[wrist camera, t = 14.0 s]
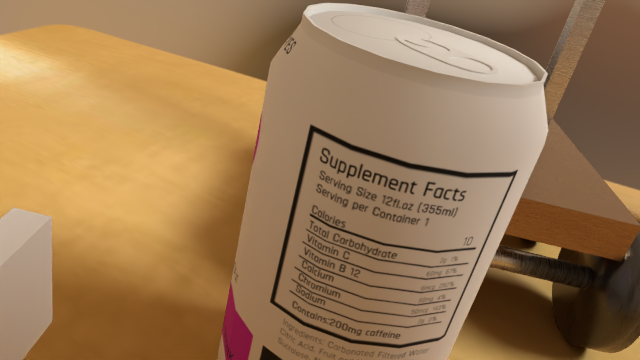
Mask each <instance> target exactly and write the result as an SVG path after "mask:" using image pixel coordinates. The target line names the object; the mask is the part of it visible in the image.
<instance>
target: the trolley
mask: <svg viewBox="0 0 640 360" xmlns="http://www.w3.org/2000/svg"><path fill="white" fill-rule="evenodd" d="M429 2H430V0H408V1H407V4H406V8H405V11H404V13H405V14H410V15H414V16H419V17H422V18H425V15H426V12H427V9H428V5H429ZM604 2H605V0H576V1H575V3H574V5H573V8H572V10H571V13H570V15H569V17H568V20H567V22H566V24H565V27H564V29H563V31H562V34H561V36H560V38H559V41H558V43H557V45H556V48H555V50H554V53H553V55H552V57H551V60H550V62H549V64H548V67H547V69H546V72H547V73H548V75H547V77H546V80H545V82H544V84H543V85H544V95H545V104H546V114H547V124H548V133H547V137H546V141H545V144H544V147H543V149H542V151H541V153H540V156H539V158H538V160H537V162H536V164H535V167H534V169H533V171H532V173H531V175H530V178H529V180H528V182H527V184H526V186H525V189H524V191H523V193H522V195H521V197H520V200H519V202H518V204H517V206H516V209H515V211H514V213H513V215H512V217H511V220H510V222H509V224H508V226H507V228H506V231H505V233H504V234H507V235H511V236H516V237H520V238H524V239H528V240H532V241H537V242H541V243H545V244H549V245H554V246H558V247H562V248H561V251H560V253H559V256H558V259H555V258H550V257H546V256H542V255H538V254H533V253H529V252H525V251H521V250H516V249H512V248H508V247H504V246H498V248H497V250H496V253H495V255H494V257H493V259H492V262H491V264H490V266H489V267H492V268H496V269H500V270H505V271H509V272H513V273H517V274H522V275H526V276H530V277H534V278H539V279H543V280H547V281H551V282H553V285H552V303H553V311H554V316H555V320H556V323H557V326H558V328H559V330H560V332H561V334H562V335H563V336H564V338H565V339H566V340H567V341H568V342H570V343H571V344H574V345H576V346H580V347H585V348H589V349H593V350H597V351H602V352H607V353H615V352H619V351H622V350H623V349H625V348H627V347H628V346H630V345H631V344H632V343H633V342H634V341H635V340H636V339H637V338H638V337H639V336H640V223H639V222H638V221H637V220H636V218H635V217H634V216H633V215H632V214H631V212H630V211H629V210H628V209H627V208H626V206H625V205H624V204H623V203H622V202H621V200H620V199H619V198H618V197H617V196H616V194H615V193H614V192H613V191H612V190H611V188H610V187H609V186H608V185H607V184H606V182H605V181H604V180H603V179H602V178H601V176H600V175H599V174H598V173H597V172H596V171H595V169H594V168H593V167H592V166H591V165H590V163H589V162H588V161H587V160H586V158H585V157H584V156H583V155H582V154H581V151H580V150H579V148H578V147H577V146H575V145H574V144H573V143H572V142H571V140H570V139H569V138H568V137H567V136H566V134H565V133H564V132H563V131H562V130H561V128H560V127H559V126H558V125H557V124H556V122H555V121H554V120H553V119H552V117H553V115H554V113H555V111H556V109H557V106H558V104H559V102H560V100H561V97H562V95H563V93H564V91H565V89H566V86H567V84H568V82H569V80H570V77H571V75H572V73H573V71H574V68H575V66H576V64H577V62H578V59H579V57H580V55H581V53H582V51H583V49H584V46H585V44H586V42H587V40H588V38H589V35H590V33H591V31H592V29H593V26H594V24H595V22H596V19H597V18H598V15H599V13H600V11H601V9H602V6H603V4H604Z"/></svg>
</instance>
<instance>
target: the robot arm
mask: <svg viewBox="0 0 640 360" xmlns="http://www.w3.org/2000/svg"><path fill="white" fill-rule="evenodd" d="M52 321H53V311H52V217H51V216H47V215H42V214H38V213H34V212H30V211H26V210H22V209H17V208H12V209H11V210H10V211H9V212H8V213H6V214H5V215H4V216H3V217H2V218H0V360H23V359H24V357H25V356H26V355H27V353H28V352H29V351H30V350H31V348H32V347H33V346H34V344H35V343H36V342H37V341H38V339H39V338H40V337H41V335H42V334H43V333H44V332H45V330H46V329H47V328H48V326H49V325H50V324H51V322H52Z"/></svg>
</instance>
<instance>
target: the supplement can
mask: <svg viewBox="0 0 640 360" xmlns="http://www.w3.org/2000/svg"><path fill="white" fill-rule="evenodd" d="M547 75H548V73H547V72H546V71H545V70H544V69H543V68H542V67H541V66H540V65H539V64H538V63H537V62H536V61H534V60H532V59H530V58H529V57H527V56H525V55H523V54H521V53H520V52H518V51H516V50H514V49H512V48H510V47H507V46H505V45H503V44H500V43H498V42H496V41H493V40H491V39H488V38H486V37H483V36H480V35H478V34H475V33H472V32H469V31H466V30H463V29H460V28H457V27H454V26H451V25H447V24H444V23H440V22H437V21H432V20H429V19H425V18H422V17H419V16H414V15H410V14H405V13H400V12H396V11H391V10H387V9H382V8H375V7H368V6H361V5H354V4H339V3H323V4H317V5H310V6H308V7H307V9H306V10H305V11H304V13H303V17H302V22H301V24H300V25H299V26H298V28H297V29H296V30H295V31H294V32H293V34H292V35H291V36H290V38H289V39H288V40H287V41H286V42H285V44H284V45H283V46H282V47H281V49H280V50H279V51H278V53H277V54H276V56H275V57H274V59H273V60H272V61H271V64H270V69H269V75H268V80H267V86H266V91H265V97H264V103H263V108H262V114H261V119H260V125H259V130H258V136H257V141H256V147H255V152H254V158H253V163H252V169H251V174H250V180H249V185H248V191H247V196H246V202H245V207H244V213H243V218H242V224H241V229H240V235H239V241H238V246H237V252H236V257H235V263H234V268H233V274H232V279H231V285H230V290H229V296H228V301H227V307H226V312H225V318H224V323H223V329H222V334H221V340H220V345H219V351H218V356H217V360H447V359H448V356H449V354H450V352H451V350H452V348H453V345H454V343H455V341H456V339H457V337H458V334H459V332H460V330H461V328H462V326H463V323H464V321H465V319H466V317H467V315H468V312H469V310H470V308H471V306H472V303H473V301H474V299H475V297H476V295H477V292H478V290H479V288H480V286H481V284H482V281H483V279H484V277H485V275H486V273H487V270H488V268H489V266H490V264H491V262H492V259H493V257H494V255H495V253H496V250H497V248H498V246H499V244H500V242H501V239H502V237H503V235H504V233H505V231H506V228H507V226H508V224H509V222H510V220H511V217H512V215H513V213H514V211H515V209H516V206H517V204H518V202H519V200H520V197H521V195H522V193H523V191H524V189H525V186H526V184H527V182H528V180H529V178H530V175H531V173H532V171H533V169H534V167H535V164H536V162H537V160H538V158H539V156H540V153H541V151H542V149H543V147H544V144H545V141H546V137H547V133H548V124H547V114H546V104H545V95H544V85H543V84H544V82H545V80H546V77H547Z"/></svg>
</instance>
